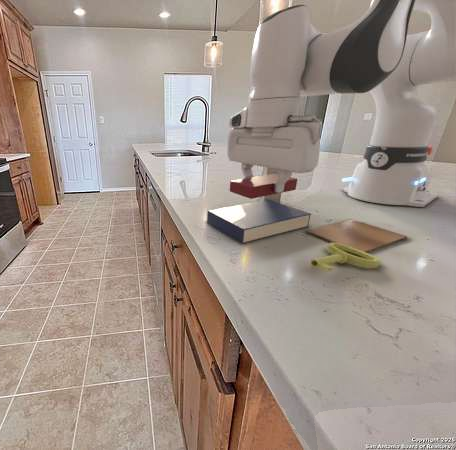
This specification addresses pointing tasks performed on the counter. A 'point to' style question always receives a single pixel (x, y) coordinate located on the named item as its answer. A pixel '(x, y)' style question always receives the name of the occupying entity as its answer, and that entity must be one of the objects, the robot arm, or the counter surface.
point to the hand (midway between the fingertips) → (262, 187)
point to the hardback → (257, 220)
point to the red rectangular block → (259, 186)
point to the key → (345, 257)
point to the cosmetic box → (275, 196)
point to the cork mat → (357, 235)
